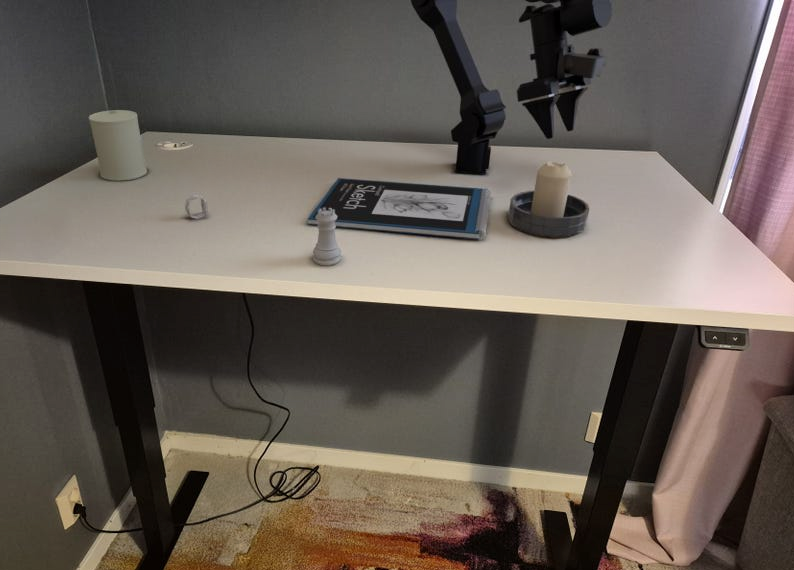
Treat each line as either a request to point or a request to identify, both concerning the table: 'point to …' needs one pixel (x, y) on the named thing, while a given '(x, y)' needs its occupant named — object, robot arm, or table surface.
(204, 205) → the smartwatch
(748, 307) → the table surface
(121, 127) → the can
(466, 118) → the robot arm
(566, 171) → the candle
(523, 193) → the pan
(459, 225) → the sketchbook
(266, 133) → the table surface
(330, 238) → the rook chess piece
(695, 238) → the table surface
